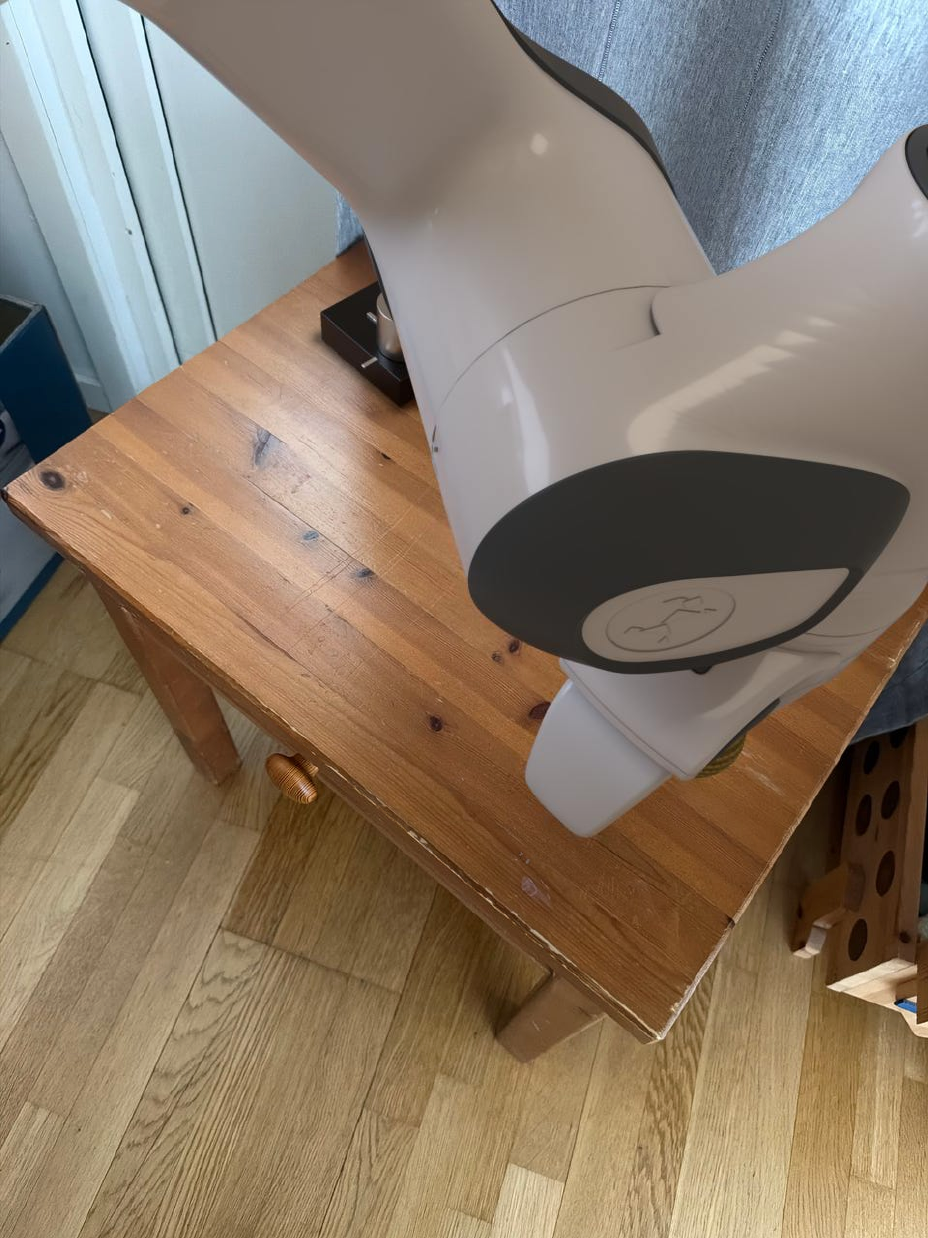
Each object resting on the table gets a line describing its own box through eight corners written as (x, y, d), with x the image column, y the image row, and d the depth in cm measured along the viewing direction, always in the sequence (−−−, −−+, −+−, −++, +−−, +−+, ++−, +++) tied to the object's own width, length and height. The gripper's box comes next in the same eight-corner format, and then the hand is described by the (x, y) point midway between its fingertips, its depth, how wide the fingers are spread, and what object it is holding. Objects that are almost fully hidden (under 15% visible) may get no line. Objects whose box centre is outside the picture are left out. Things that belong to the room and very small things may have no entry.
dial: (441, 346, 73) (445, 304, 69) (401, 370, 71) (402, 328, 68) (405, 316, 75) (407, 273, 71) (365, 339, 73) (365, 296, 69)
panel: (398, 424, 73) (399, 397, 70) (309, 346, 76) (307, 316, 73) (512, 351, 78) (517, 322, 75) (424, 280, 81) (426, 251, 79)
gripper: (849, 397, 39) (733, 568, 51) (531, 671, 31) (481, 800, 43) (972, 486, 38) (822, 642, 49) (669, 803, 29) (577, 899, 41)
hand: (661, 717), depth 46 cm, fingers closed on sculpture, 4 cm apart
